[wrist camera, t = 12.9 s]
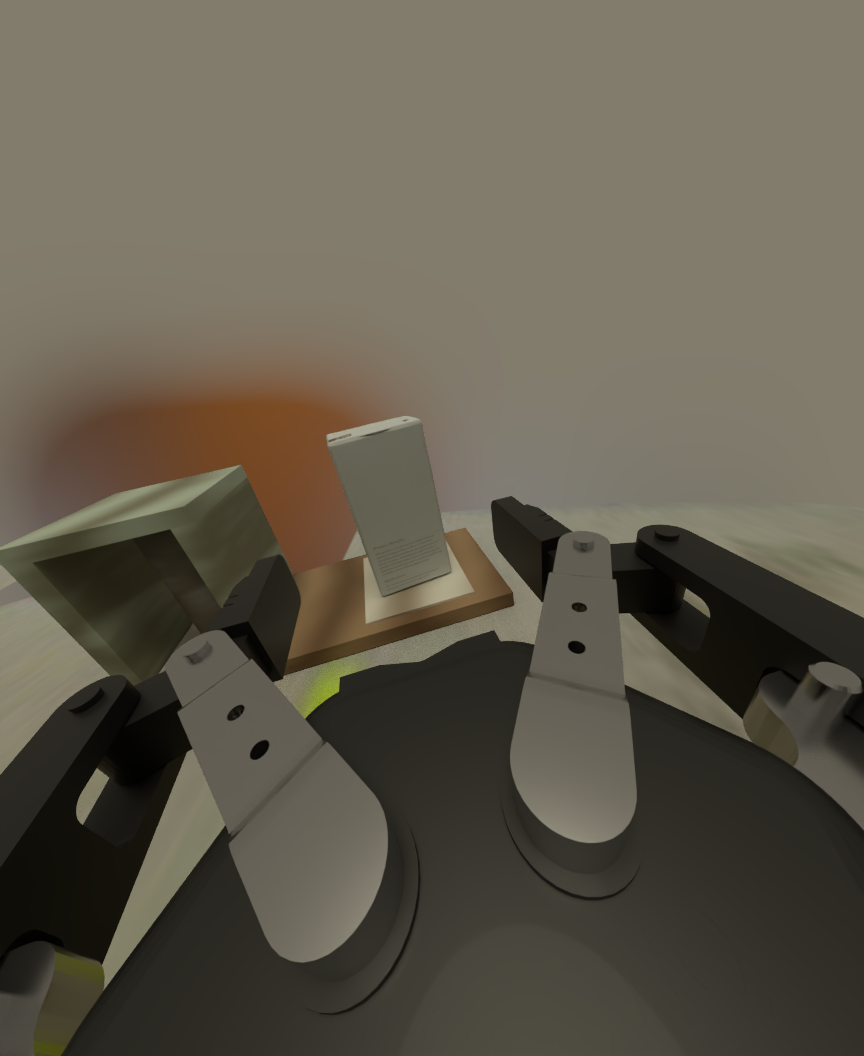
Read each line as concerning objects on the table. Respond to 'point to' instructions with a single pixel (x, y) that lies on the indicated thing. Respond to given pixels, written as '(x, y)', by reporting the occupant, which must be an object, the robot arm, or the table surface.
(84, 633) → the board
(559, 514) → the table surface
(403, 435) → the skincare box
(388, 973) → the robot arm
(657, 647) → the table surface
